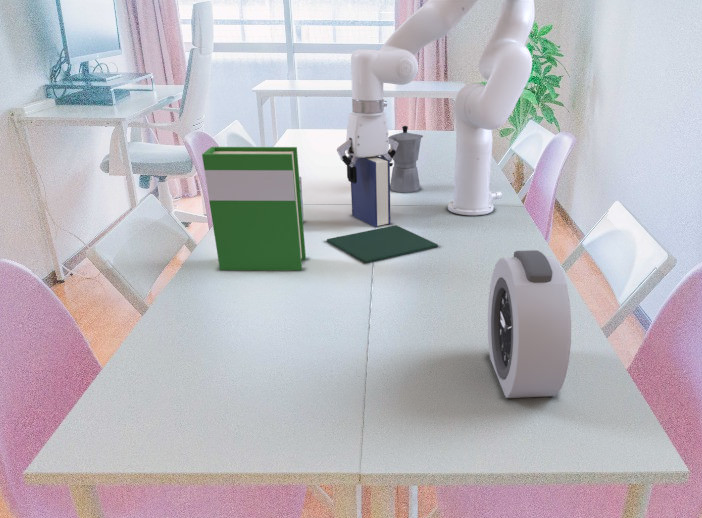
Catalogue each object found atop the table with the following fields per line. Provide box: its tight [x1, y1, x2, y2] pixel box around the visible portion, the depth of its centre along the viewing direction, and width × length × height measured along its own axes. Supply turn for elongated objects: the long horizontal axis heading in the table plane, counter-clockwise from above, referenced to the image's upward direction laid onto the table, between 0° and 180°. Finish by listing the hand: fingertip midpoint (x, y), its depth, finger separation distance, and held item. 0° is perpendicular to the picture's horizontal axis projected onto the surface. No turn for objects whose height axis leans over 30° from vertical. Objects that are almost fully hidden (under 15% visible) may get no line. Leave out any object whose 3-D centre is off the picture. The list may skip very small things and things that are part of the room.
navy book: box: [350, 156, 391, 228], centre depth 170 cm, size 4×12×16 cm, turn 34°
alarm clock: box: [487, 249, 572, 399], centre depth 100 cm, size 21×8×20 cm, turn 5°
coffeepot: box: [388, 125, 424, 194], centre depth 196 cm, size 15×9×18 cm, turn 129°
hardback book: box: [201, 146, 307, 271], centre depth 140 cm, size 18×7×24 cm, turn 90°
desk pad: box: [326, 224, 439, 264], centre depth 158 cm, size 20×18×1 cm
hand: (368, 179), depth 169 cm, fingers open, 9 cm apart
